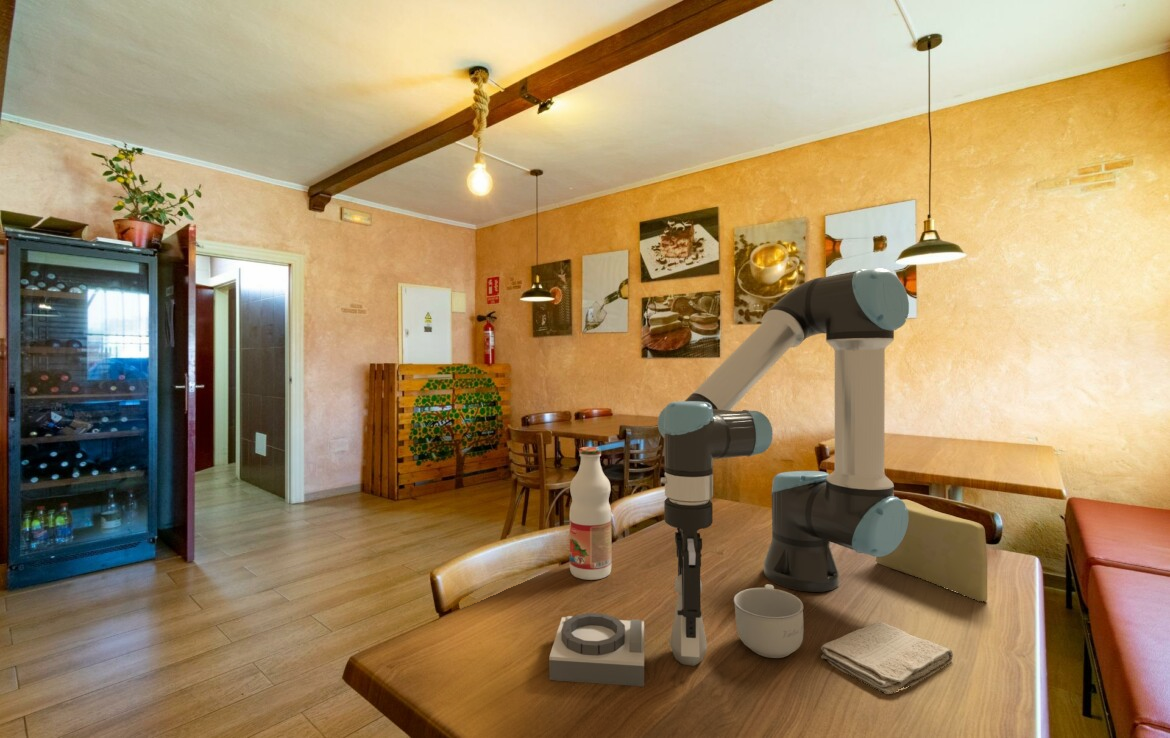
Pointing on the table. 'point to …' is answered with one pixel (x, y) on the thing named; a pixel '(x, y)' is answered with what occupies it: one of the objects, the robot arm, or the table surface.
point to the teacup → (769, 621)
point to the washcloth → (886, 657)
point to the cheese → (942, 551)
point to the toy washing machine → (598, 650)
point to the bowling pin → (676, 631)
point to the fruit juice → (590, 519)
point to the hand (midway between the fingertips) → (688, 643)
